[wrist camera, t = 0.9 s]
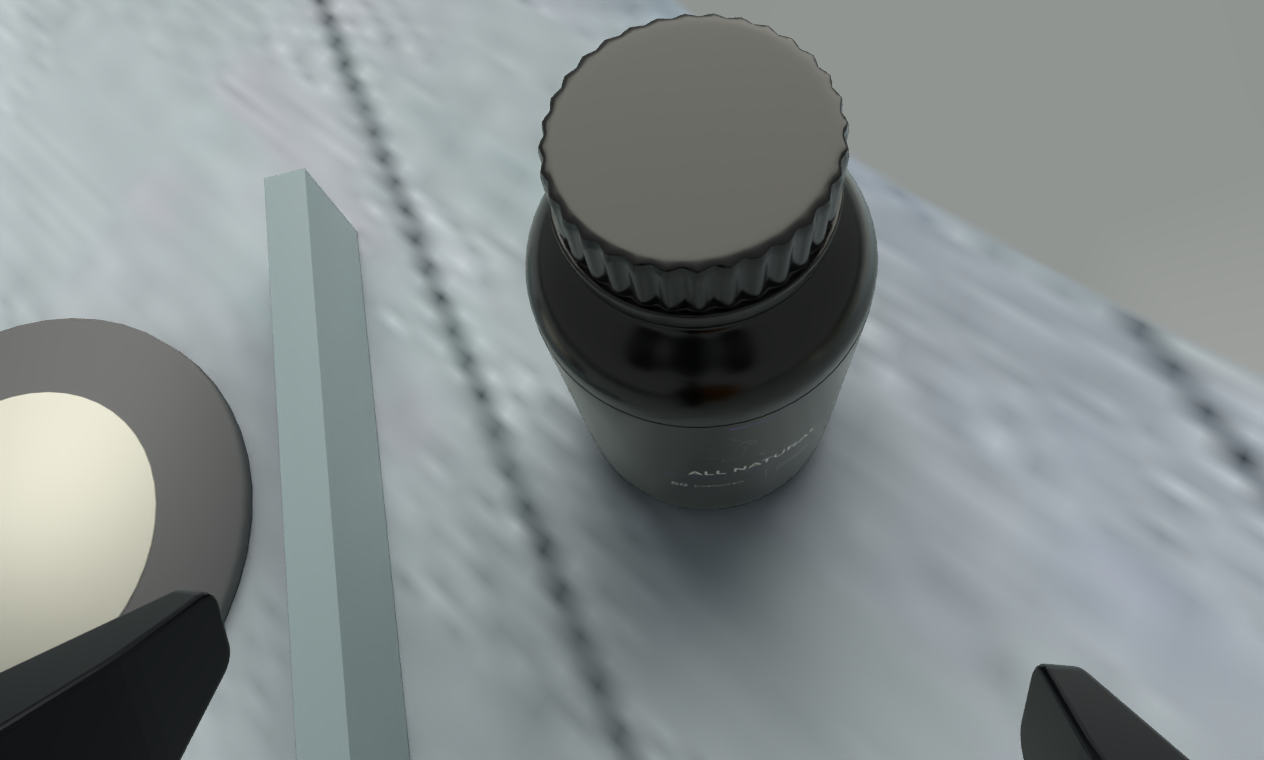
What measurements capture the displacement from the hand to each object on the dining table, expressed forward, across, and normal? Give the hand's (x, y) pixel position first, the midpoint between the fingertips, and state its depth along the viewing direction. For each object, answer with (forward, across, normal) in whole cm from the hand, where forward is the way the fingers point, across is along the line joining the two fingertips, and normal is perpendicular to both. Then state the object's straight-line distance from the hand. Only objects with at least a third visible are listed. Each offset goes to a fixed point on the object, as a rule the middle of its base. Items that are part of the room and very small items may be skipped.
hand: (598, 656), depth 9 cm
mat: (+11, +19, +8) cm, 24 cm away
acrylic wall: (+13, +10, +6) cm, 17 cm away
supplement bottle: (+15, 0, +4) cm, 15 cm away
